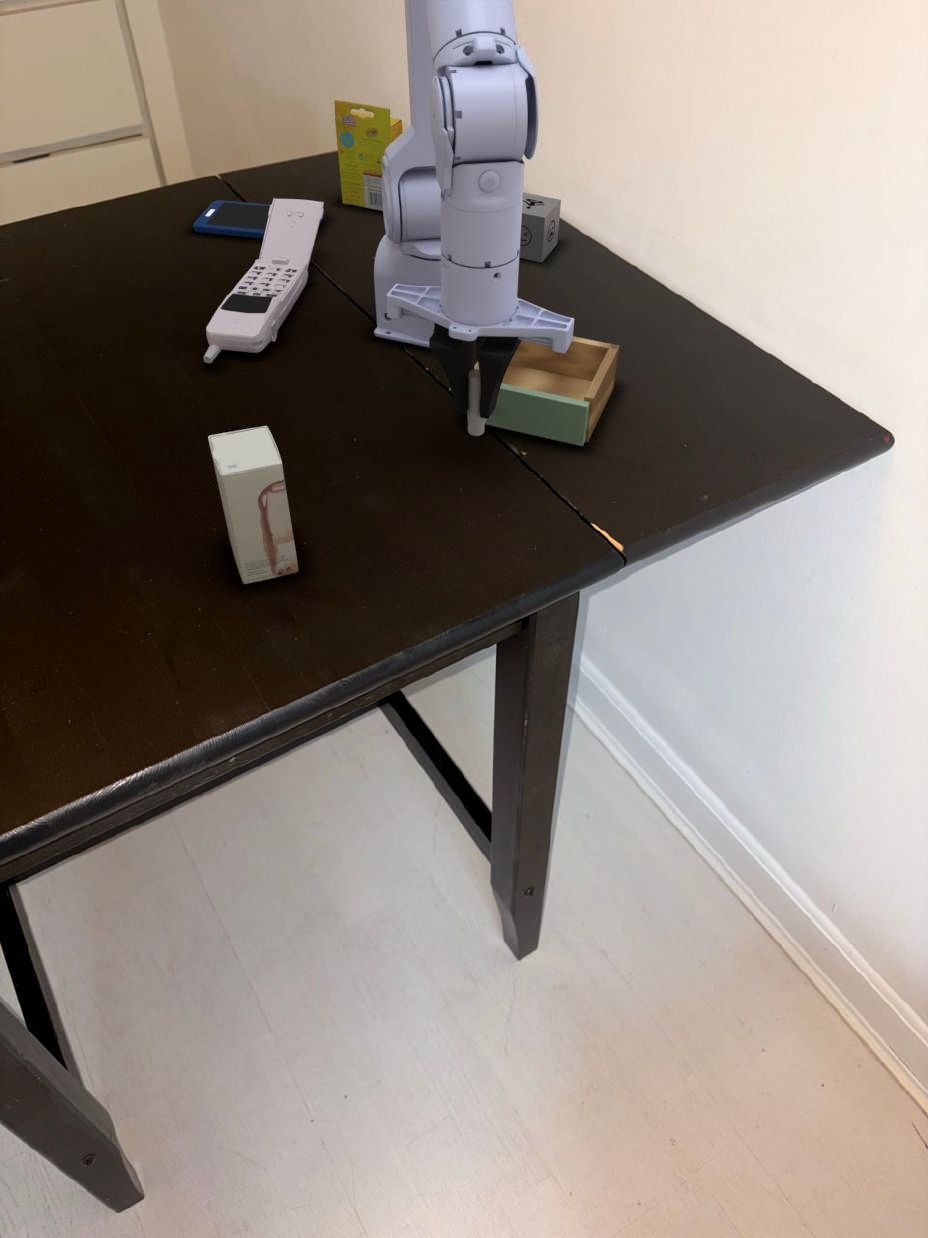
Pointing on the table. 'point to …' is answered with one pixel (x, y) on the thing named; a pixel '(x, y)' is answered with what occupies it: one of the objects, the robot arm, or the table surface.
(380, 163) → the crayon box
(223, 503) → the white product carton
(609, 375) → the box
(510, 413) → the cubby door
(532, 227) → the dice cube
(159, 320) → the table surface
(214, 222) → the cell phone
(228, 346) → the mobile phone
